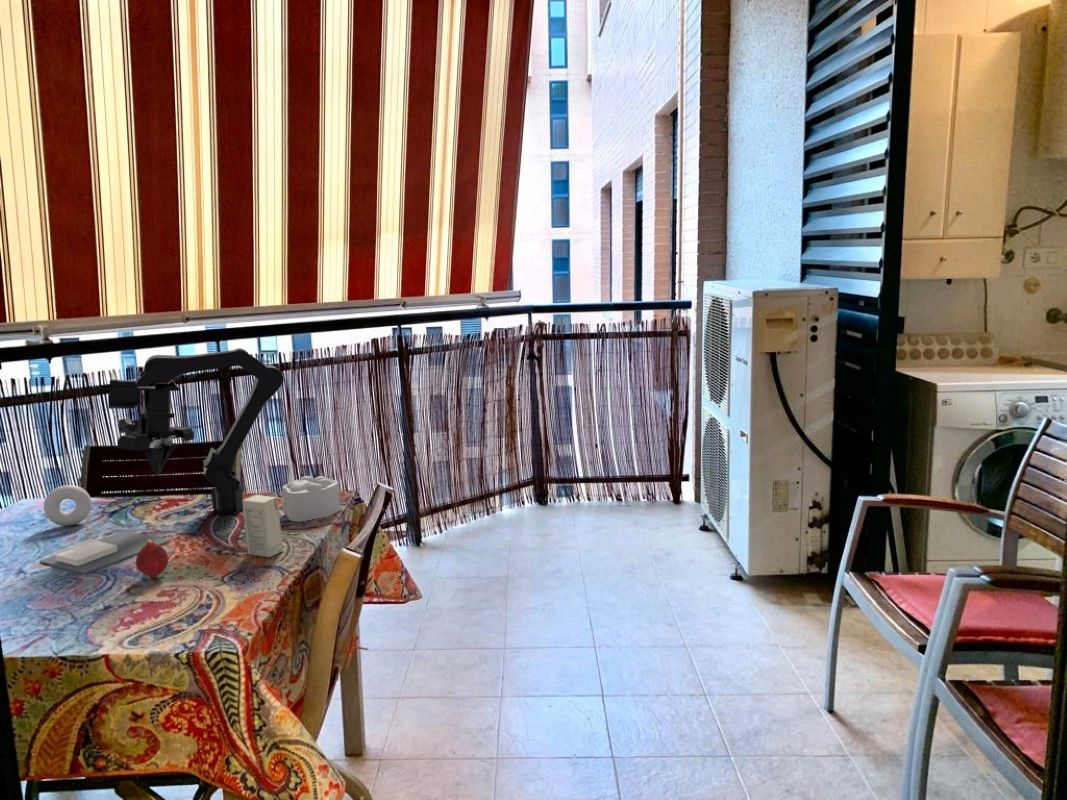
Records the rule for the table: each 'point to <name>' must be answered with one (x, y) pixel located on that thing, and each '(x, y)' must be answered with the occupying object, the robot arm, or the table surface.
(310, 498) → the lumpy-topped squat cylinder
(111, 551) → the tile
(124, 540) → the mat
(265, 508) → the skincare box
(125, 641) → the table surface
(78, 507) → the donut
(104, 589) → the table surface
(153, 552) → the onion
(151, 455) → the robot arm
